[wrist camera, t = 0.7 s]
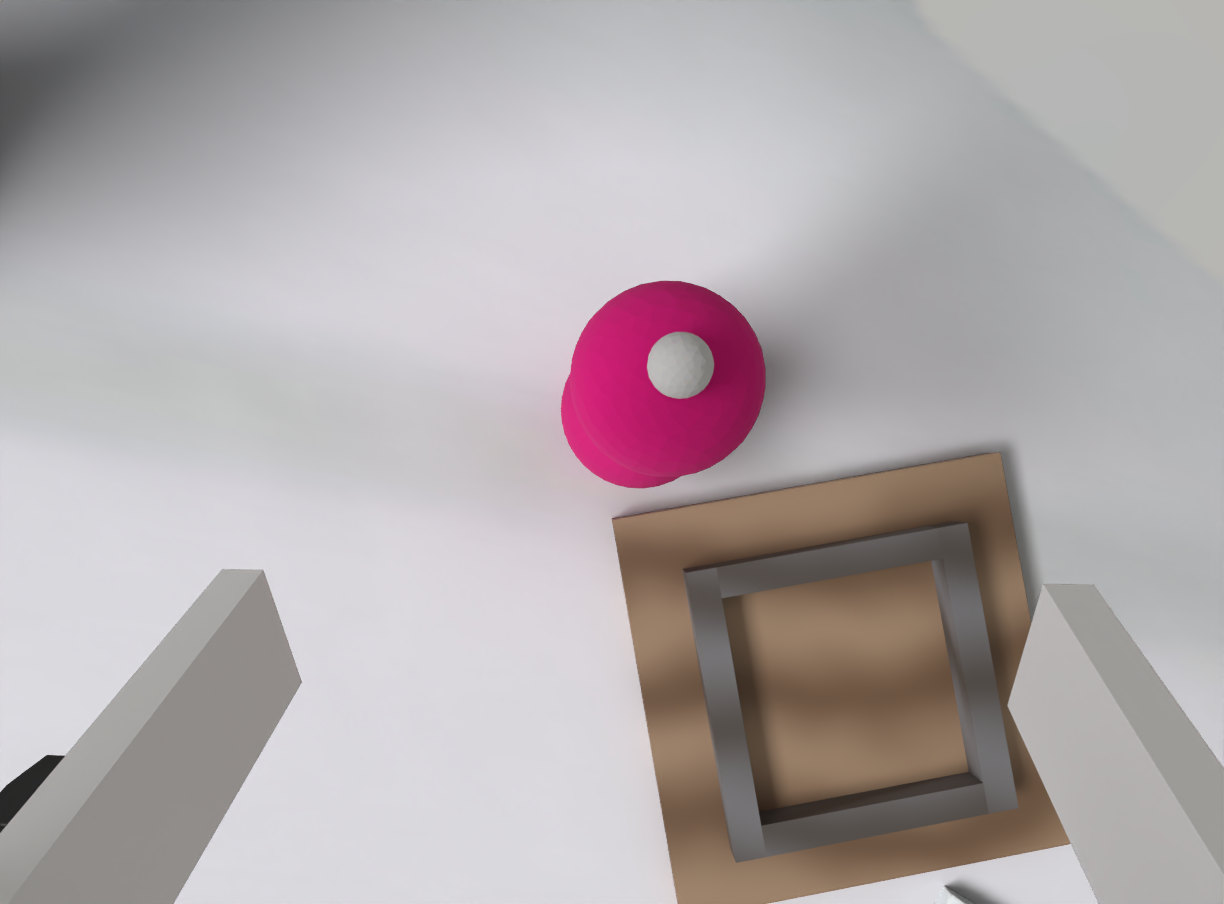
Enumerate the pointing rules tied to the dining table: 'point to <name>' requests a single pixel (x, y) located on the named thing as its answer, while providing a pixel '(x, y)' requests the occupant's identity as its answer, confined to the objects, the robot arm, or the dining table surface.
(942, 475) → the pocket board
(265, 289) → the dining table surface
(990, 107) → the dining table surface
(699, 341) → the pepper mill
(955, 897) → the external hard drive
